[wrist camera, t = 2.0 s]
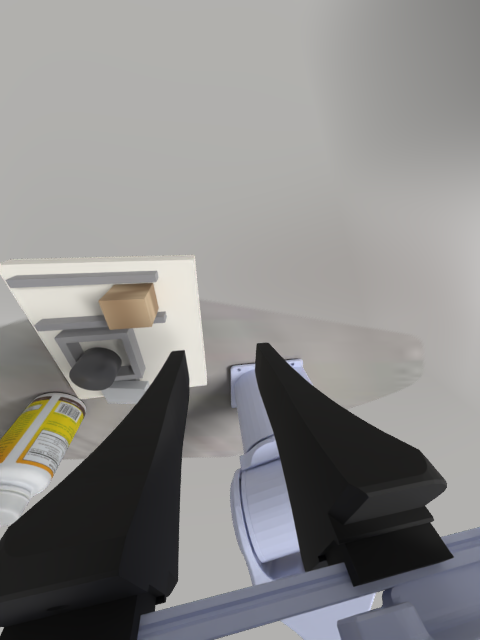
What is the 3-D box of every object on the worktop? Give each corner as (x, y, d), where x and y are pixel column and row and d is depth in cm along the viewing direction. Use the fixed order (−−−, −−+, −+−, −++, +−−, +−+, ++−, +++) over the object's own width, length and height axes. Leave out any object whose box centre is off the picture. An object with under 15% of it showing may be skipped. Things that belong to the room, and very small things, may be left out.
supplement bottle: (33, 416, 25) (-59, 535, 16) (33, 386, 22) (-73, 506, 14) (85, 421, 27) (30, 530, 18) (91, 394, 24) (30, 504, 16)
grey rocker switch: (148, 381, 21) (144, 388, 20) (153, 396, 22) (149, 404, 21) (105, 379, 21) (99, 387, 20) (113, 395, 22) (107, 403, 21)
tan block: (153, 283, 17) (144, 298, 14) (158, 308, 18) (151, 326, 15) (114, 284, 16) (98, 301, 14) (122, 310, 18) (109, 329, 15)
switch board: (194, 254, 18) (193, 264, 15) (206, 375, 25) (207, 394, 23) (10, 259, 16) (-25, 271, 13) (86, 388, 24) (72, 410, 21)
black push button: (115, 345, 18) (106, 361, 16) (126, 371, 19) (118, 388, 18) (75, 348, 17) (61, 365, 16) (89, 375, 19) (78, 392, 17)
